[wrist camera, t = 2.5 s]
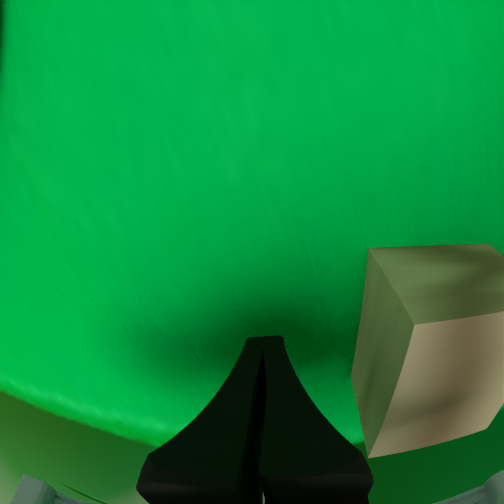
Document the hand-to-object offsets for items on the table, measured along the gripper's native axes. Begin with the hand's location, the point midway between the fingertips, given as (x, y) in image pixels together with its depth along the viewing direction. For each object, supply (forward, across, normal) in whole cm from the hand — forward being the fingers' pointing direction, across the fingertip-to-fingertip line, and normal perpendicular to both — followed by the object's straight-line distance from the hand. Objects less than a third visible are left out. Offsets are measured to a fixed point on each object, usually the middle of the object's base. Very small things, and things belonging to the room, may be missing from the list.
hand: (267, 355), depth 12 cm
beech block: (+2, -7, 0) cm, 7 cm away
